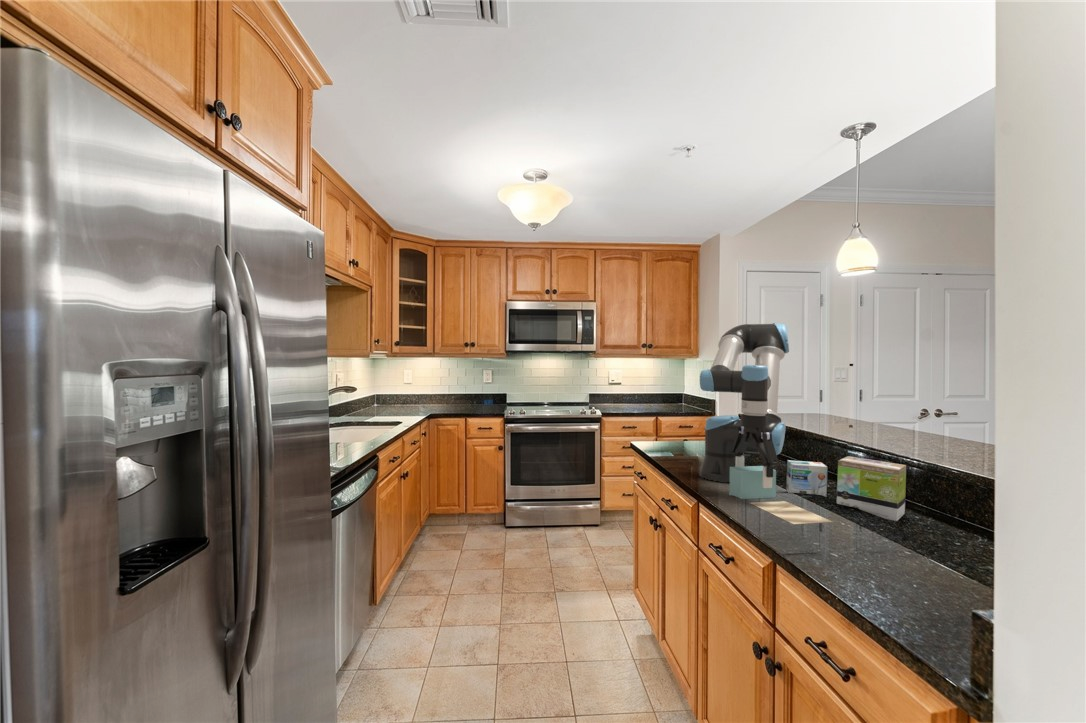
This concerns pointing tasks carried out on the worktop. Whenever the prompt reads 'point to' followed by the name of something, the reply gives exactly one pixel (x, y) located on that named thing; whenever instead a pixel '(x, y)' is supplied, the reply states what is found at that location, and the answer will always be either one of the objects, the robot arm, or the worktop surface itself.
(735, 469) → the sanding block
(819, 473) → the light bulb box
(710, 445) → the robot arm
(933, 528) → the worktop surface
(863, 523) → the worktop surface
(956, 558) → the worktop surface
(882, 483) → the tea box
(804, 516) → the birch board
